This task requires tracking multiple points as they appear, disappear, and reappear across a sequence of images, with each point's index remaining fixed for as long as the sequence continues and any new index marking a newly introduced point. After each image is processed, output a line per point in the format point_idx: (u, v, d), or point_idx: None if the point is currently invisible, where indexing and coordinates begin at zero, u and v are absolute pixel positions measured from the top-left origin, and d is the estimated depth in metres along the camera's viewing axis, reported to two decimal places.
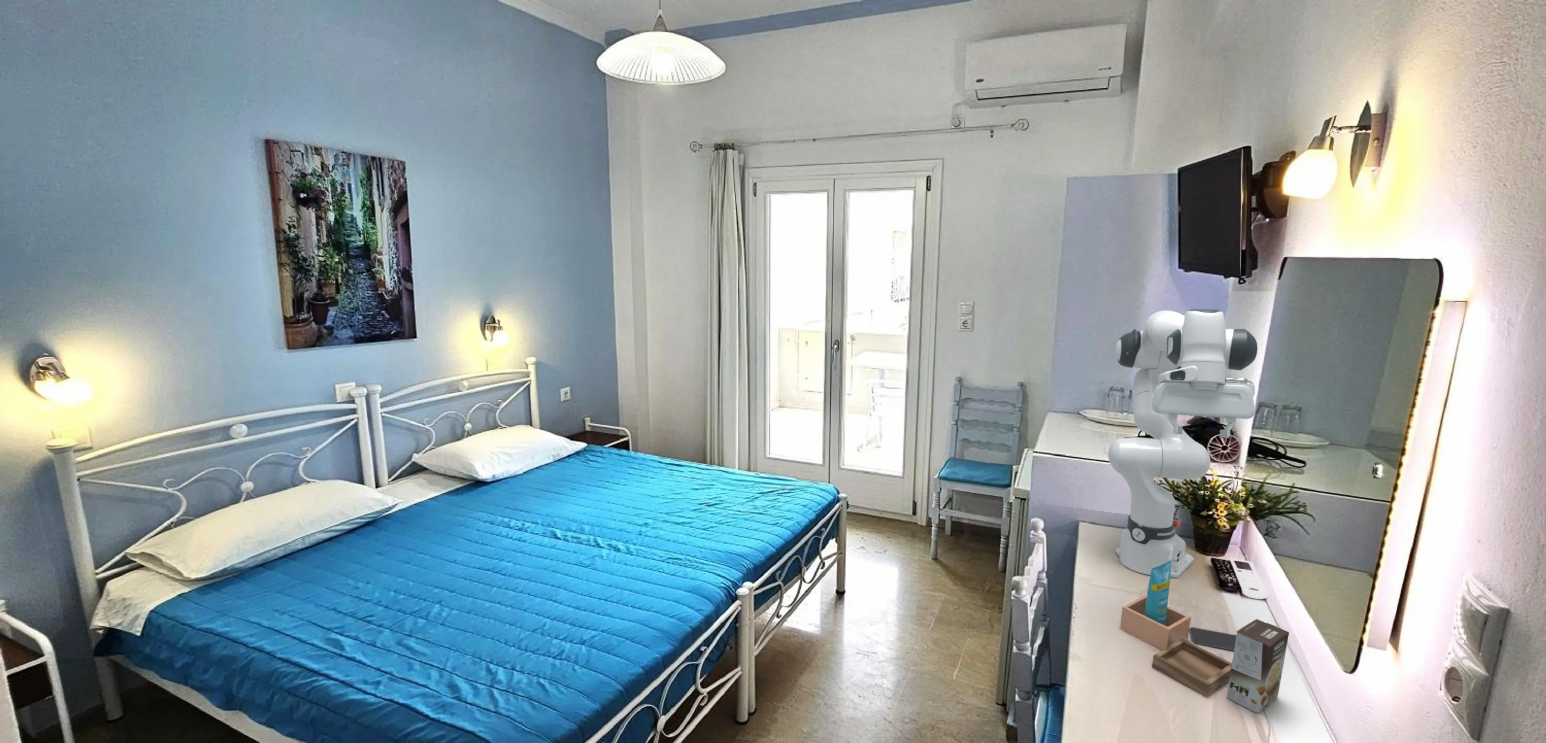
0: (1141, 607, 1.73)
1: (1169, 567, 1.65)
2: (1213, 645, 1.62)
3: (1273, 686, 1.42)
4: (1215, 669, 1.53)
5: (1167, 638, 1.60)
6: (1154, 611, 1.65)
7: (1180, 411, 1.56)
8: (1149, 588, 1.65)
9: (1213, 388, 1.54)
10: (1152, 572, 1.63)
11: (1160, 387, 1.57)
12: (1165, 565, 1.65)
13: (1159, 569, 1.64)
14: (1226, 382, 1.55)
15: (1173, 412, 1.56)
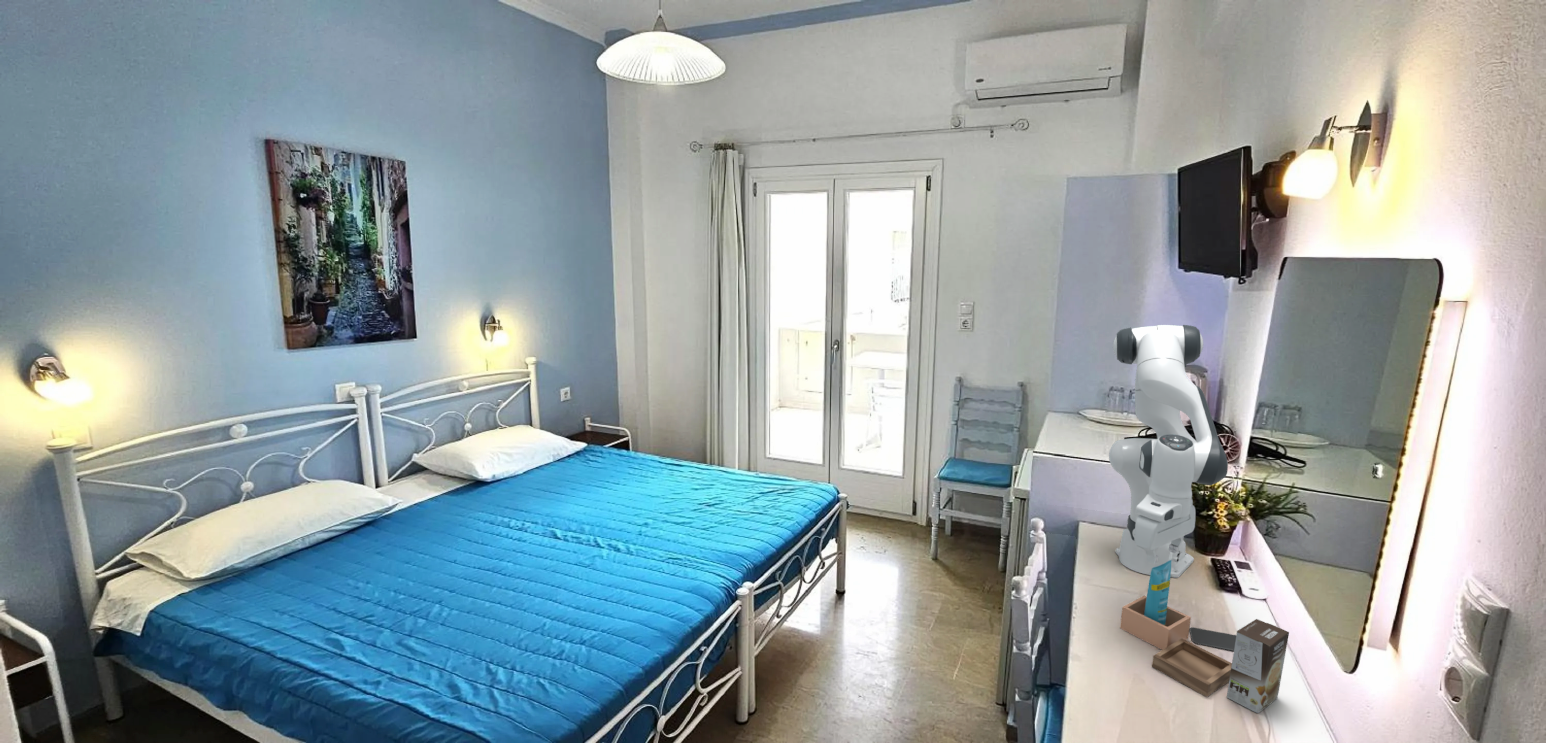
0: (1141, 607, 1.73)
1: (1169, 567, 1.65)
2: (1213, 645, 1.62)
3: (1273, 686, 1.42)
4: (1215, 669, 1.53)
5: (1167, 638, 1.60)
6: (1154, 611, 1.65)
7: (1161, 544, 1.59)
8: (1149, 588, 1.65)
9: (1182, 517, 1.60)
10: (1152, 572, 1.63)
11: (1155, 529, 1.55)
12: (1165, 565, 1.65)
13: (1159, 569, 1.64)
14: None
15: (1157, 547, 1.58)
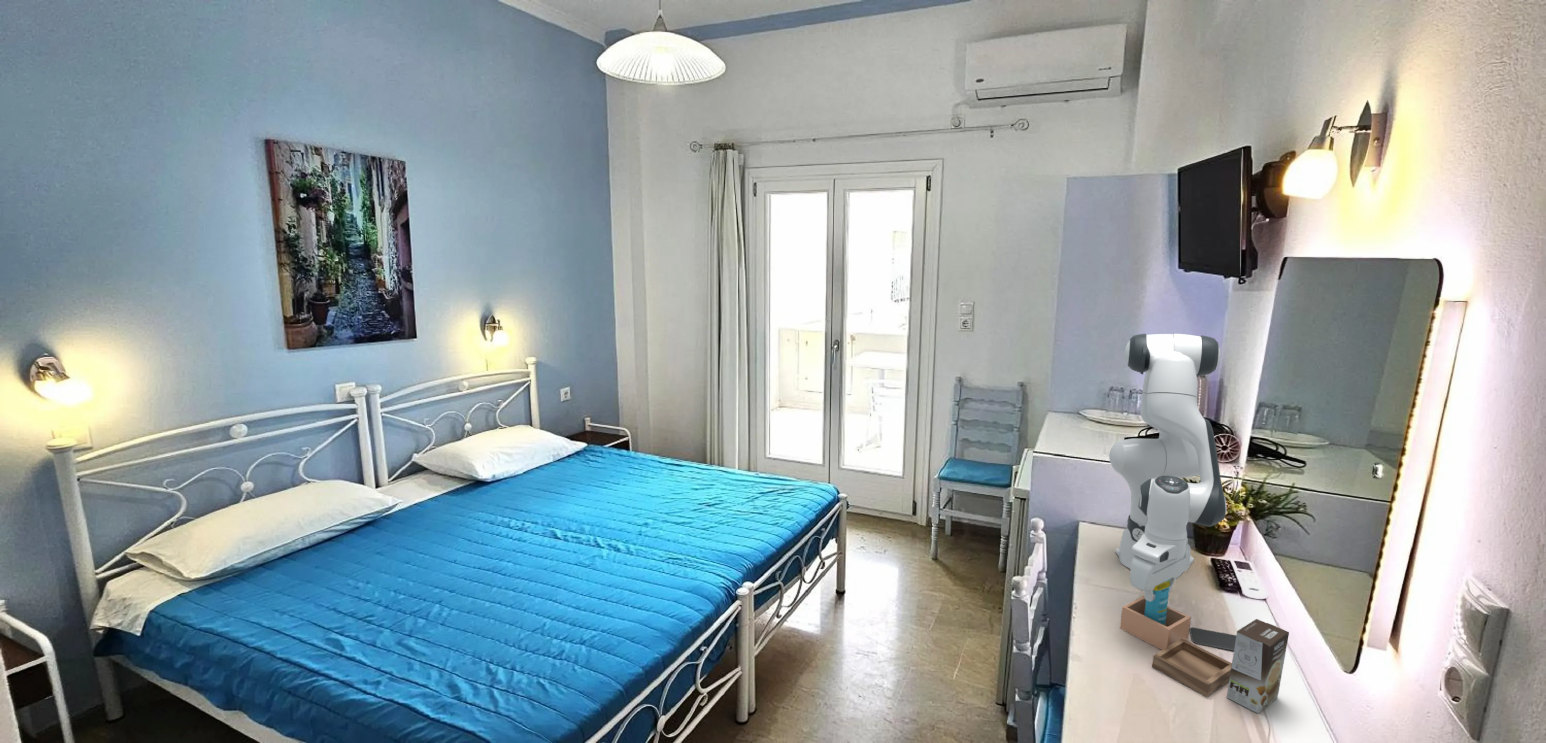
0: (1141, 607, 1.73)
1: None
2: (1213, 645, 1.62)
3: (1273, 686, 1.42)
4: (1215, 669, 1.53)
5: (1167, 638, 1.60)
6: (1154, 611, 1.65)
7: (1156, 584, 1.61)
8: None
9: (1178, 557, 1.62)
10: None
11: (1151, 570, 1.57)
12: None
13: None
14: None
15: (1152, 587, 1.60)
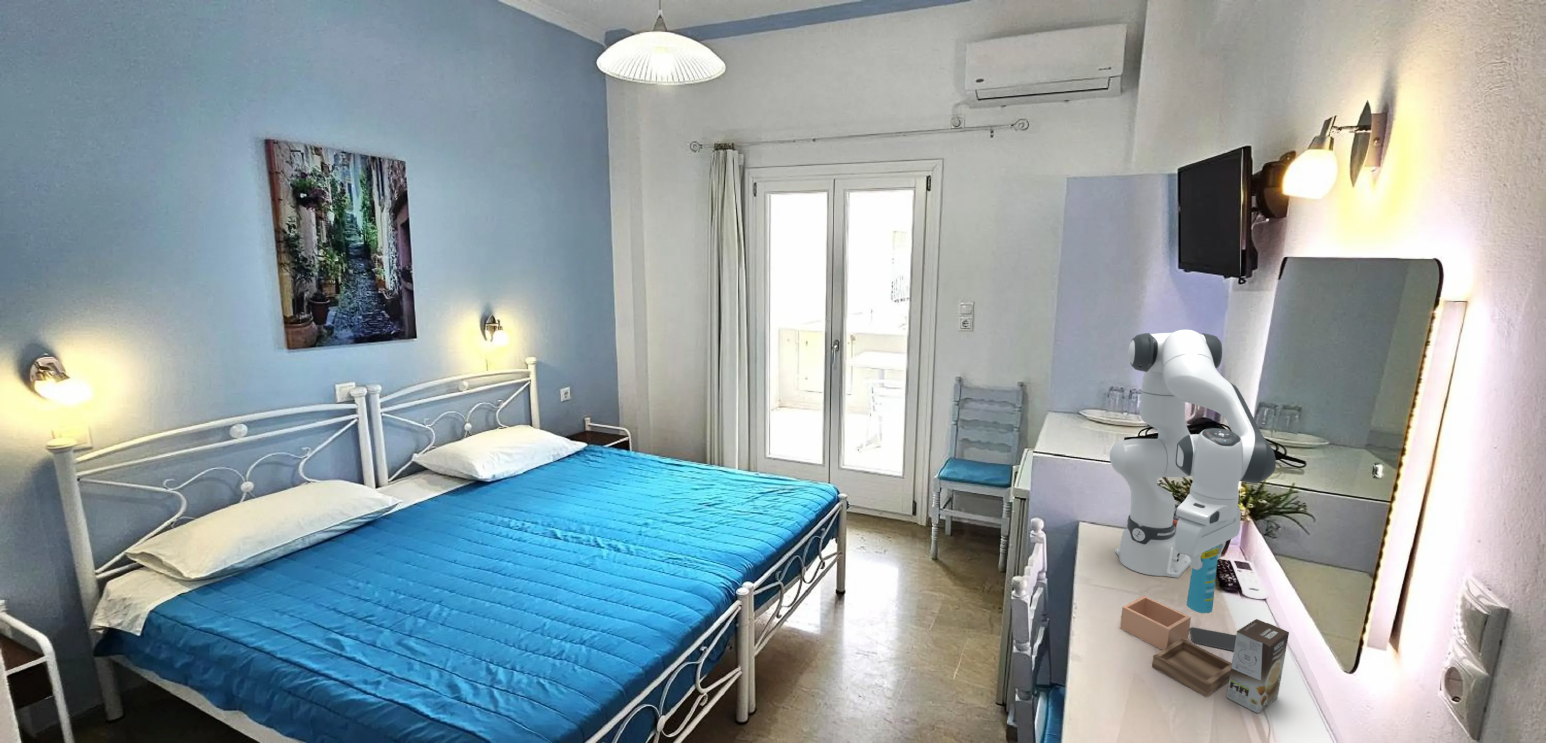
0: (1141, 607, 1.73)
1: None
2: (1213, 645, 1.62)
3: (1273, 686, 1.42)
4: (1215, 669, 1.53)
5: (1167, 638, 1.60)
6: (1202, 582, 1.47)
7: (1205, 550, 1.43)
8: None
9: (1228, 520, 1.45)
10: None
11: (1199, 532, 1.40)
12: None
13: None
14: None
15: (1200, 552, 1.43)
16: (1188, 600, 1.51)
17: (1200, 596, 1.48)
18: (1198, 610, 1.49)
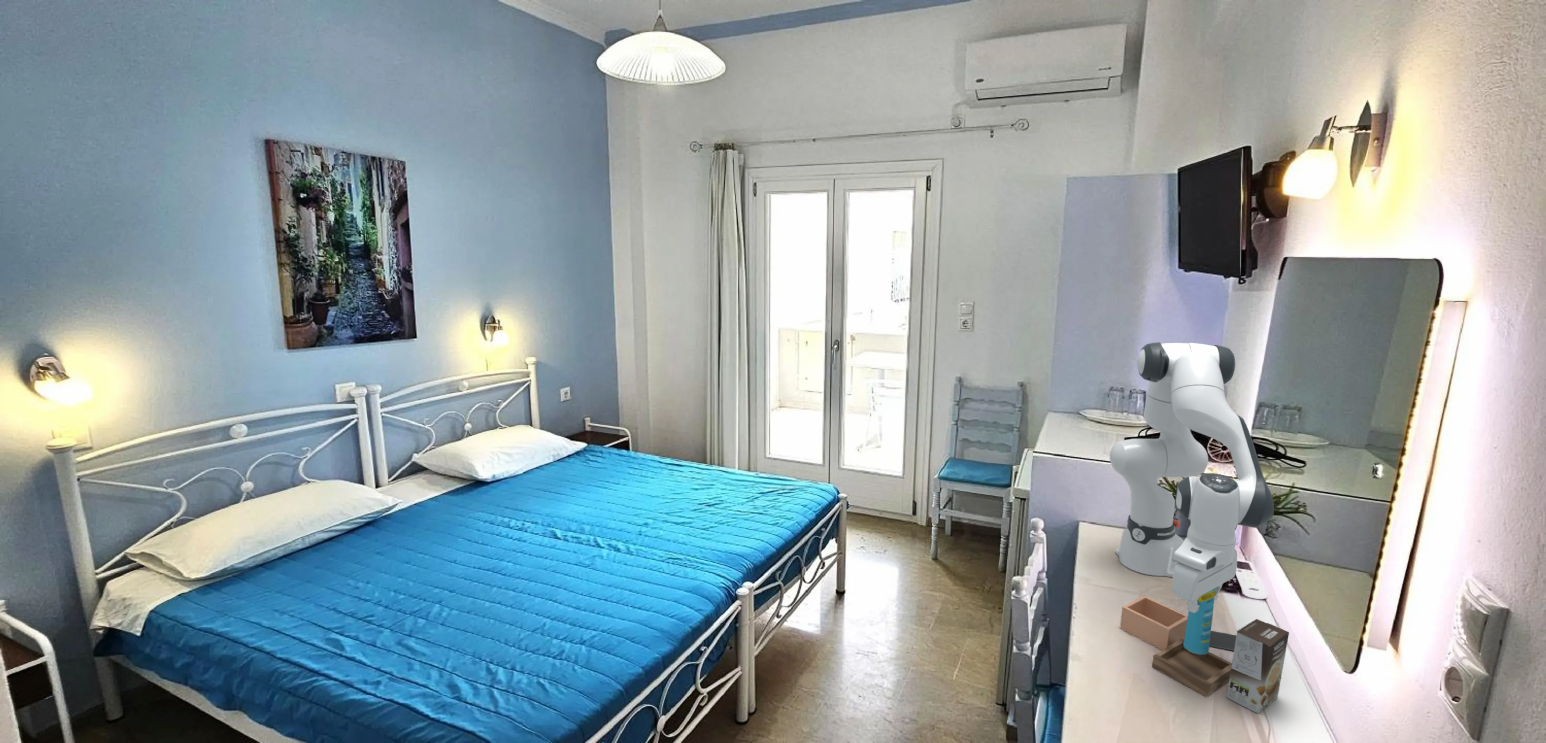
0: (1141, 607, 1.73)
1: None
2: (1213, 645, 1.62)
3: (1273, 686, 1.42)
4: (1215, 669, 1.53)
5: (1167, 638, 1.60)
6: (1198, 624, 1.49)
7: (1201, 594, 1.45)
8: None
9: None
10: None
11: (1196, 578, 1.41)
12: None
13: None
14: None
15: (1197, 597, 1.45)
16: (1185, 641, 1.52)
17: (1196, 638, 1.50)
18: (1195, 651, 1.50)
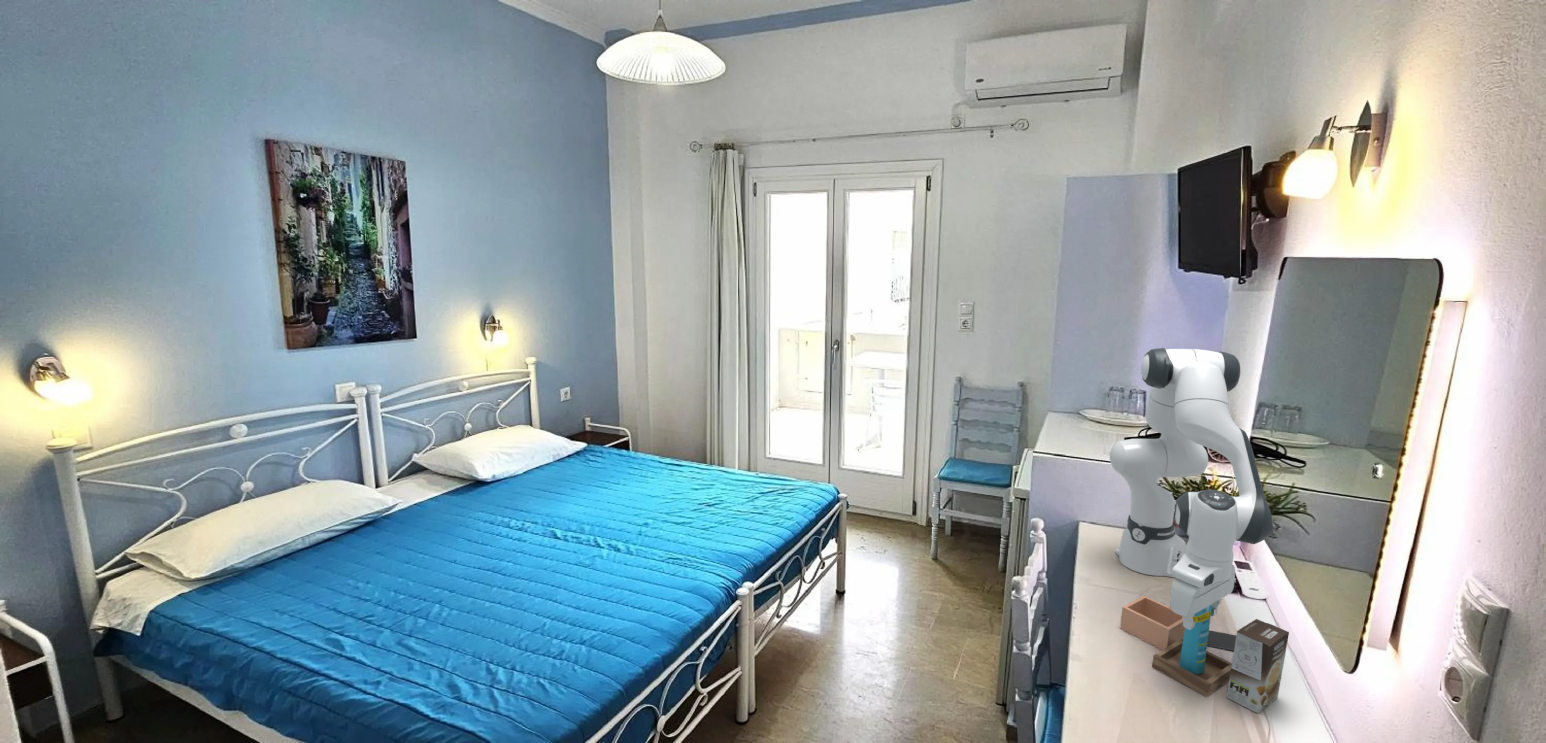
0: (1141, 607, 1.73)
1: None
2: (1213, 645, 1.62)
3: (1273, 686, 1.42)
4: (1215, 669, 1.53)
5: (1167, 638, 1.60)
6: (1194, 645, 1.50)
7: (1199, 609, 1.46)
8: None
9: None
10: None
11: (1194, 595, 1.42)
12: None
13: None
14: None
15: (1195, 613, 1.45)
16: (1180, 660, 1.54)
17: (1192, 658, 1.51)
18: (1190, 671, 1.52)
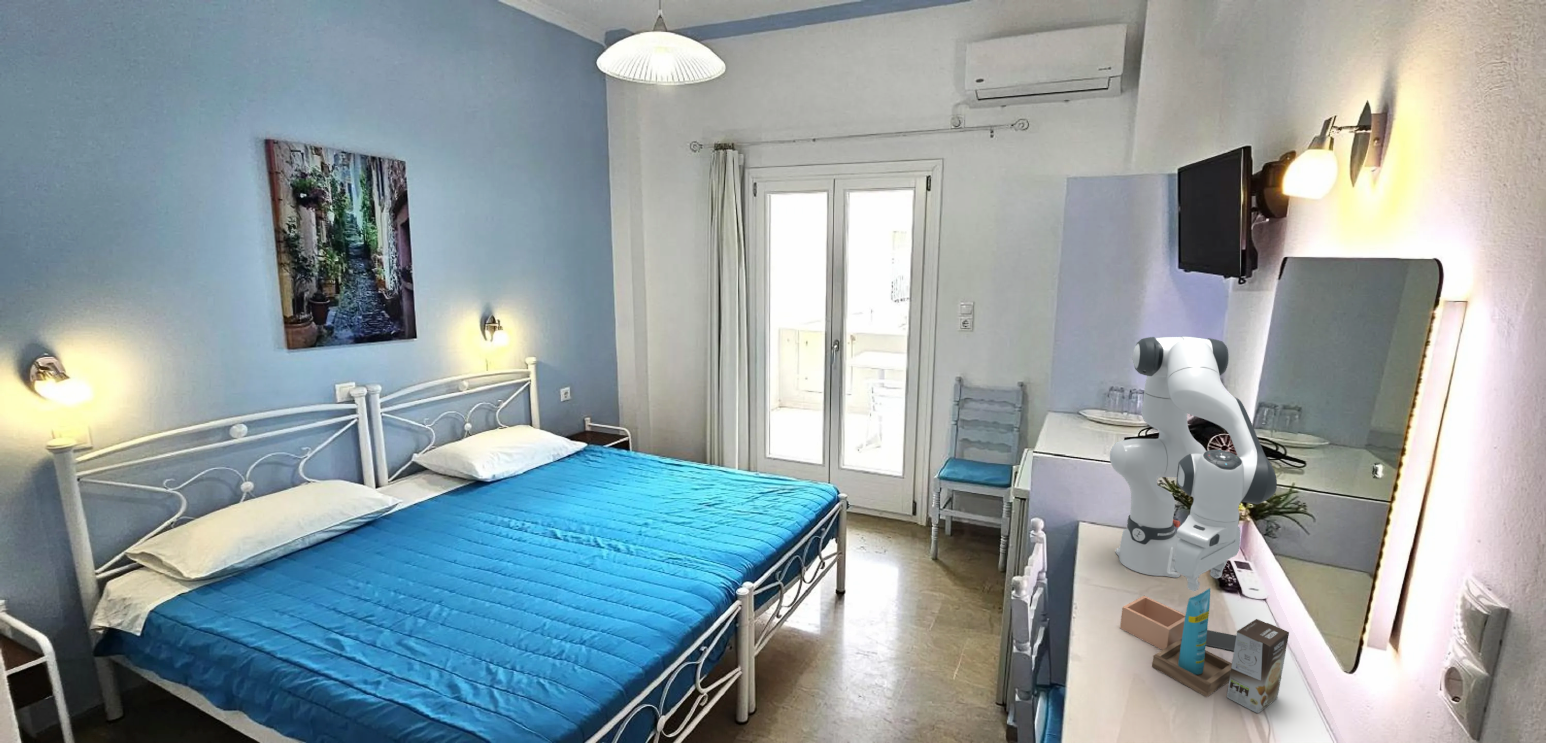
0: (1141, 607, 1.73)
1: (1208, 596, 1.50)
2: (1213, 645, 1.62)
3: (1273, 686, 1.42)
4: (1215, 669, 1.53)
5: (1167, 638, 1.60)
6: (1192, 645, 1.50)
7: (1204, 571, 1.44)
8: (1186, 620, 1.50)
9: None
10: (1189, 603, 1.48)
11: (1199, 555, 1.40)
12: (1203, 594, 1.50)
13: (1197, 599, 1.49)
14: None
15: (1200, 574, 1.44)
16: (1179, 661, 1.53)
17: (1191, 658, 1.51)
18: (1189, 671, 1.51)
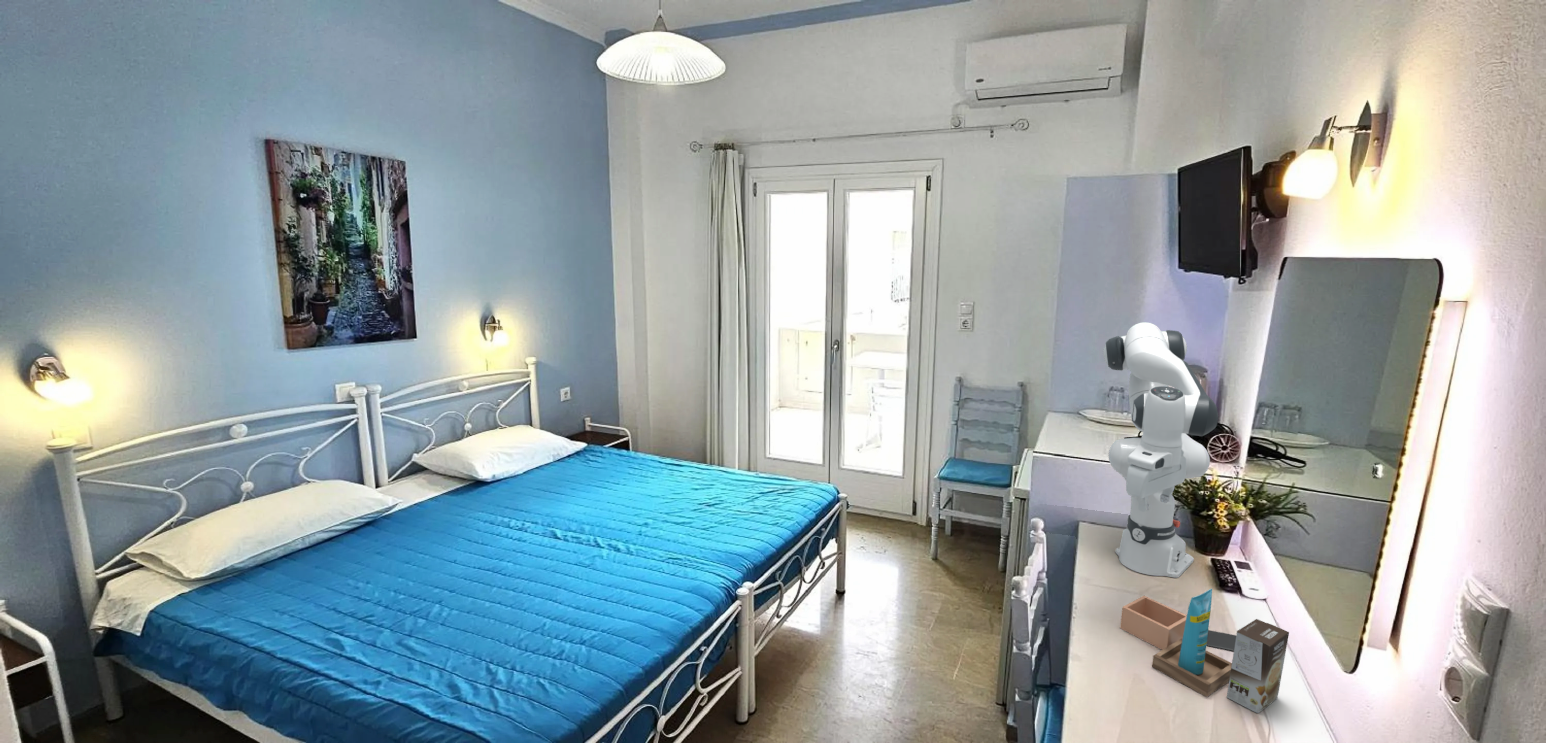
0: (1141, 607, 1.73)
1: (1209, 596, 1.50)
2: (1213, 645, 1.63)
3: (1273, 686, 1.42)
4: (1215, 669, 1.53)
5: (1167, 638, 1.60)
6: (1193, 645, 1.50)
7: (1152, 493, 1.63)
8: (1187, 620, 1.50)
9: (1173, 467, 1.64)
10: (1191, 602, 1.48)
11: (1146, 476, 1.59)
12: (1205, 594, 1.50)
13: (1199, 599, 1.49)
14: None
15: (1148, 495, 1.62)
16: (1180, 661, 1.53)
17: (1191, 658, 1.51)
18: (1189, 671, 1.51)
